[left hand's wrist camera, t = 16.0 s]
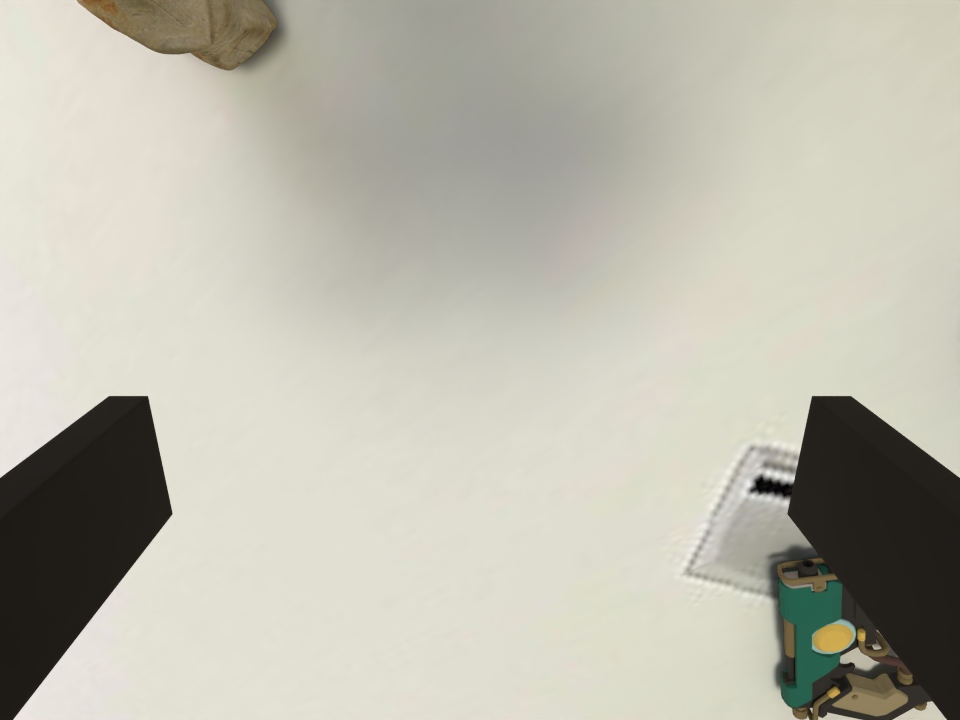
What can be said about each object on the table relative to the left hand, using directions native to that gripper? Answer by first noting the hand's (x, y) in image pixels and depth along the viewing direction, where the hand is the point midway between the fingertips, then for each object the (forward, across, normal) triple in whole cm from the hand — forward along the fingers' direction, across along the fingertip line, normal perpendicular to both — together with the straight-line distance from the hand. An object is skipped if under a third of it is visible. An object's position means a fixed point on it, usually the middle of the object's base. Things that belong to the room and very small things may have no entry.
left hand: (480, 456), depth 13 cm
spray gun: (+28, +29, -31) cm, 51 cm away
